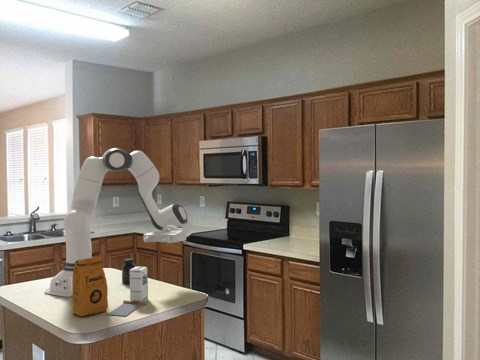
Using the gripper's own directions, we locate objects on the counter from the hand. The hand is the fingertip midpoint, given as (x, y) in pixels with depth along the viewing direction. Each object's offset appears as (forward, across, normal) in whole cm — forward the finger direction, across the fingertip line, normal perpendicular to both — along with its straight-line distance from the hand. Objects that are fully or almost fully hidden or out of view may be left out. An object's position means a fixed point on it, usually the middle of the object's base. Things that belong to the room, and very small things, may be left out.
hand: (153, 240), depth 187 cm
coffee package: (+33, -9, +22) cm, 40 cm away
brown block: (+17, 0, +23) cm, 29 cm away
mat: (+25, +1, +23) cm, 34 cm away
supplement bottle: (-8, -25, +24) cm, 35 cm away
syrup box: (+13, -1, +24) cm, 27 cm away
